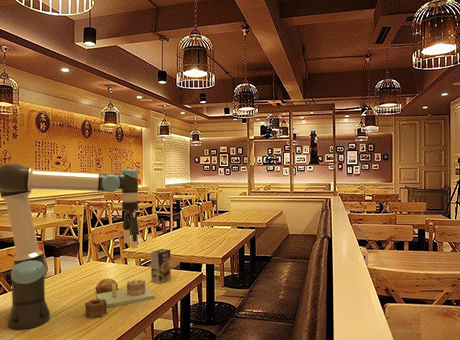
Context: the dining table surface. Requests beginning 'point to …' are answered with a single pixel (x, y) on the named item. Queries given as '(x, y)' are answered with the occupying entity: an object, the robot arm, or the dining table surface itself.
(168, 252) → the coffee box
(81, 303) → the dining table surface
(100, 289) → the bread roll
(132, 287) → the beech gear
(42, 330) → the dining table surface
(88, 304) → the walnut gear
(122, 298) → the gear board
